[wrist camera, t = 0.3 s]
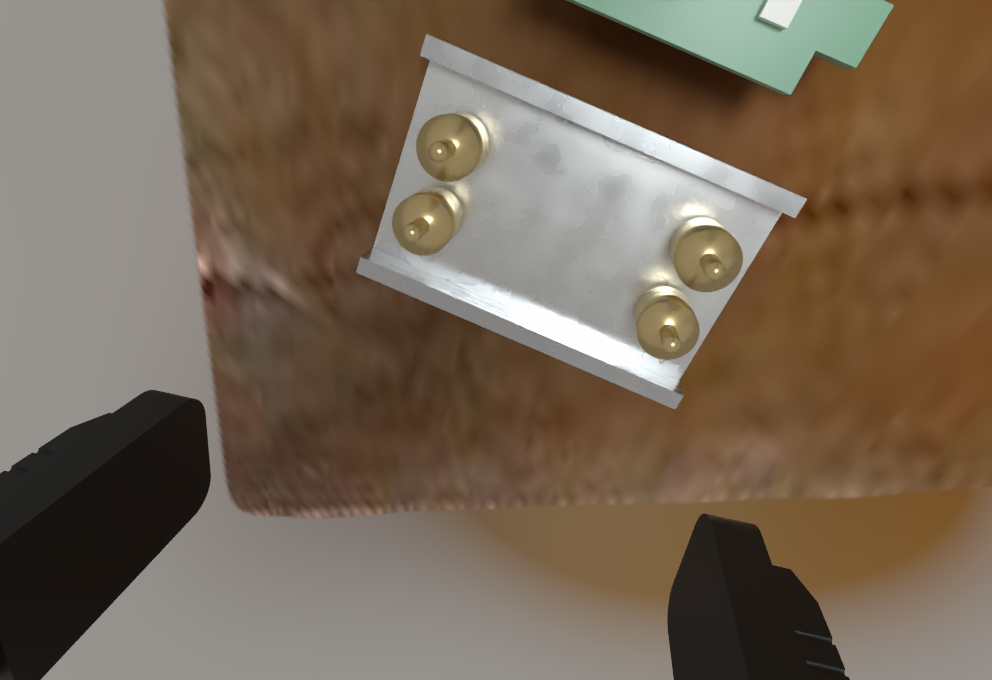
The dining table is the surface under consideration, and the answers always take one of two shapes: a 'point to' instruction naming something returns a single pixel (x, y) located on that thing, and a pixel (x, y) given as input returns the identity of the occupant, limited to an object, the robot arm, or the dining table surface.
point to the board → (755, 32)
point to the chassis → (566, 224)
